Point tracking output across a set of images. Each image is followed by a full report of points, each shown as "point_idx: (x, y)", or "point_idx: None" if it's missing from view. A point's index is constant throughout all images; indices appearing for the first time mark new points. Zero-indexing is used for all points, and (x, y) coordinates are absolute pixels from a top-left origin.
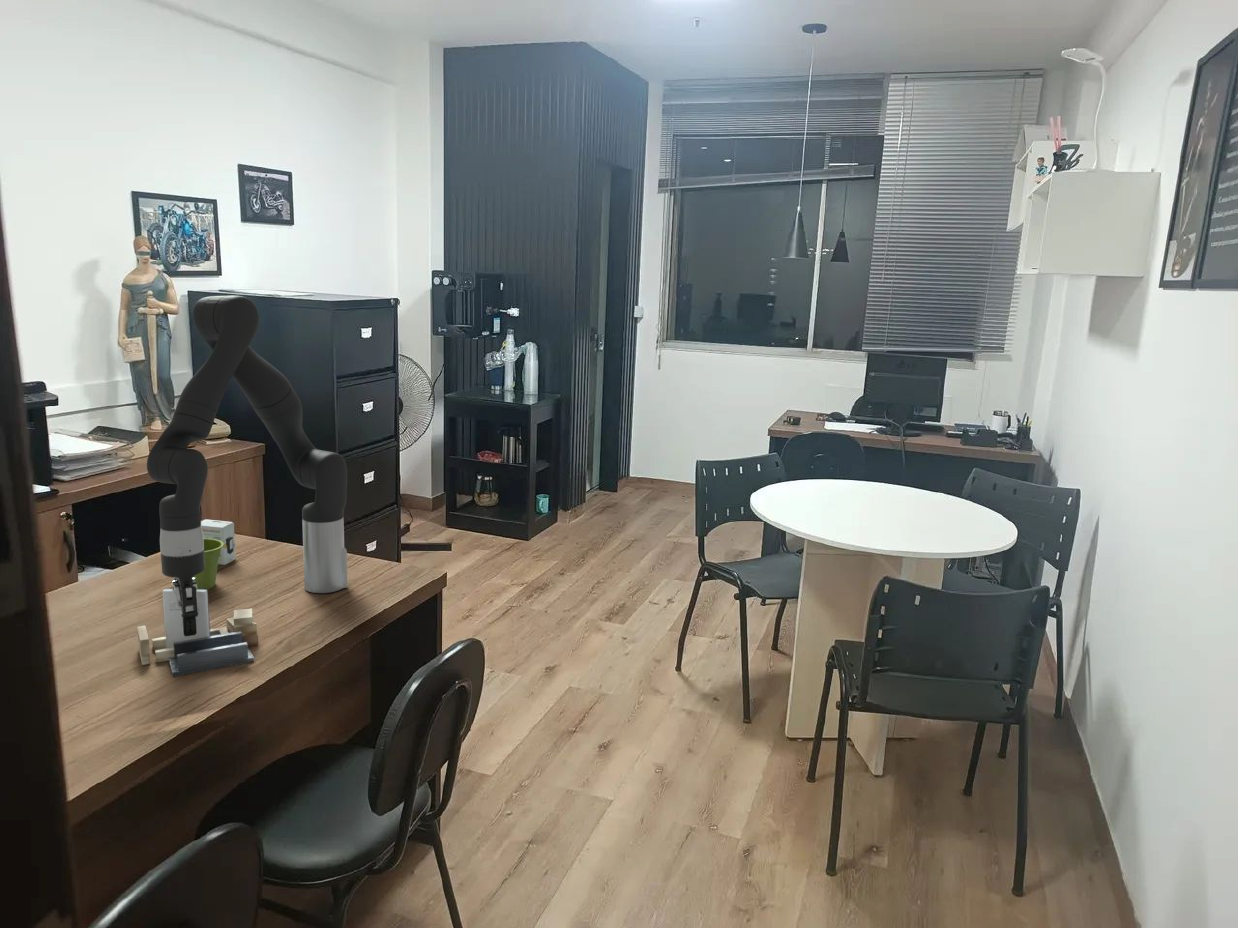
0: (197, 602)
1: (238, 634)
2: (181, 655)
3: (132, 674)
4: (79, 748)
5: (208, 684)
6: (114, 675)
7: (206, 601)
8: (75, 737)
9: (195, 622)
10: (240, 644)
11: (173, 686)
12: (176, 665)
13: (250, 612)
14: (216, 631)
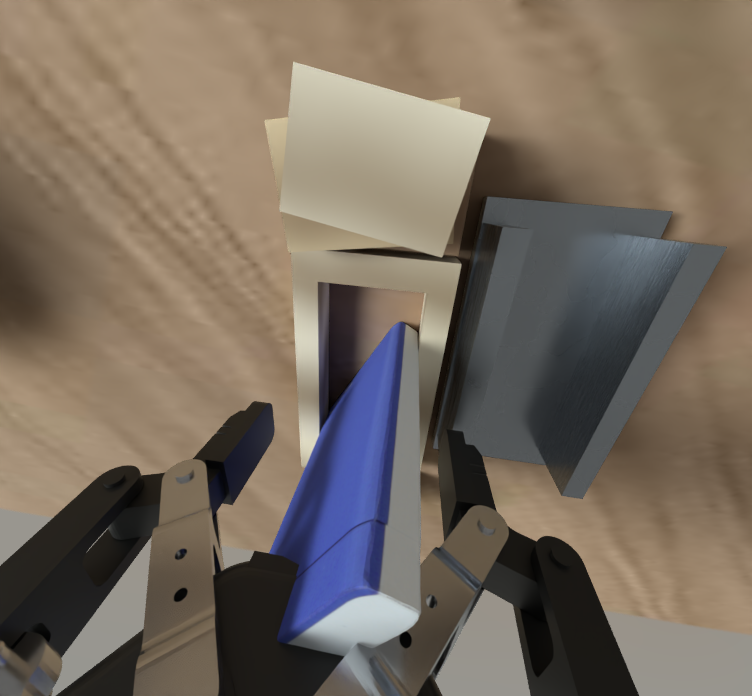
0: (466, 579)
1: (525, 247)
2: (585, 489)
3: None
4: (745, 631)
5: (698, 402)
6: (436, 530)
7: (412, 495)
8: (688, 624)
9: (470, 475)
10: (695, 282)
11: (614, 469)
12: (506, 446)
13: (380, 103)
14: (319, 291)
